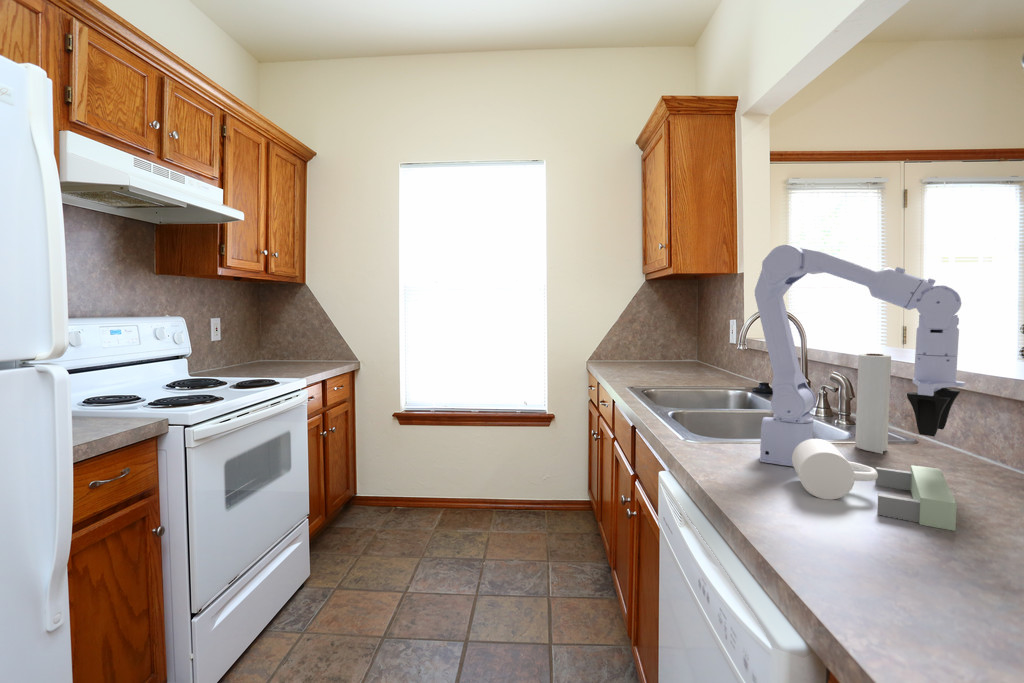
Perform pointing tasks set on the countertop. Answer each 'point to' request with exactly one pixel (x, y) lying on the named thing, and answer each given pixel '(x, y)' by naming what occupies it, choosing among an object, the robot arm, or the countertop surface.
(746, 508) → the countertop surface
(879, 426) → the paper towel roll
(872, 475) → the mug
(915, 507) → the green forked block
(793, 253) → the robot arm
